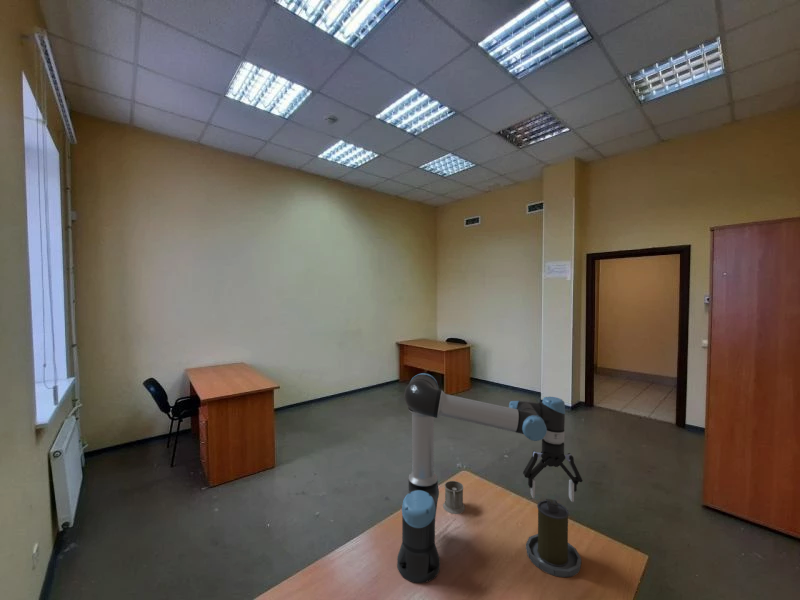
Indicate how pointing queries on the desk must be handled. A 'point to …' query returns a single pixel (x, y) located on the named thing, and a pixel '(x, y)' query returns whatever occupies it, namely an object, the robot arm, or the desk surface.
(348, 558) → the desk surface
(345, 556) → the desk surface
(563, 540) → the canister
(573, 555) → the round tray
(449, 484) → the mug
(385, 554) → the desk surface
